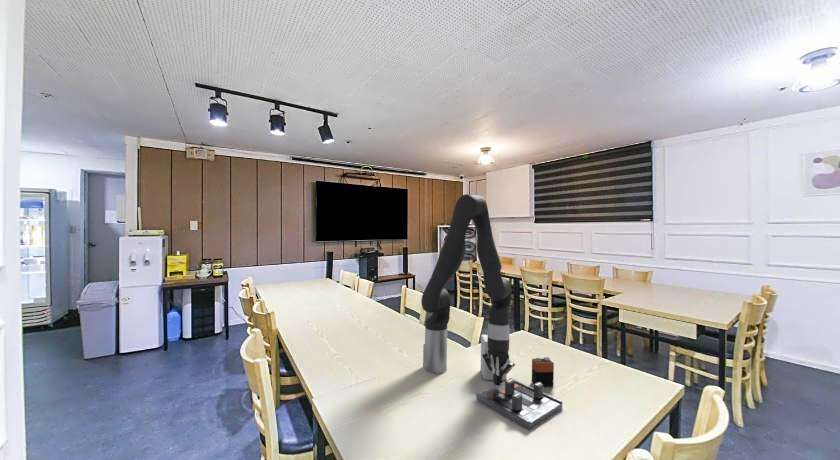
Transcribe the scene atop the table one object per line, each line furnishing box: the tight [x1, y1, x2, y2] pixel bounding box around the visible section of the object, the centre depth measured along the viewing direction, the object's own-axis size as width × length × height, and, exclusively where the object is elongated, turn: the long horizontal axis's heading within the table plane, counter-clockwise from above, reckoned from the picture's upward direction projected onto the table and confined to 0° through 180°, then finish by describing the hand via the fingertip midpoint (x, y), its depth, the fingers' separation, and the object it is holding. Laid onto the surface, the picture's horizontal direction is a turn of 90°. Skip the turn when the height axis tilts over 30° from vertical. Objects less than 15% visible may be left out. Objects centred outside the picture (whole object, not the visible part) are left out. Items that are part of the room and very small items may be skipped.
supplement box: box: [480, 334, 508, 381], centre depth 127 cm, size 9×9×15 cm
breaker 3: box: [533, 382, 544, 399], centre depth 106 cm, size 2×2×4 cm
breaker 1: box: [504, 378, 515, 395], centre depth 108 cm, size 2×2×4 cm
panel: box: [476, 377, 563, 432], centre depth 105 cm, size 20×19×3 cm
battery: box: [531, 356, 555, 388], centre depth 120 cm, size 4×7×10 cm, turn 94°
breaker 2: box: [512, 393, 522, 411], centre depth 99 cm, size 2×2×4 cm
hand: (497, 384), depth 112 cm, fingers closed
